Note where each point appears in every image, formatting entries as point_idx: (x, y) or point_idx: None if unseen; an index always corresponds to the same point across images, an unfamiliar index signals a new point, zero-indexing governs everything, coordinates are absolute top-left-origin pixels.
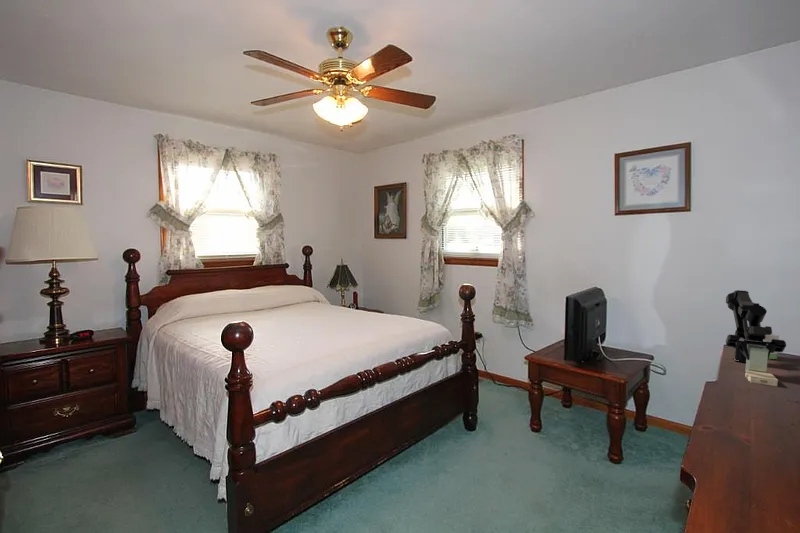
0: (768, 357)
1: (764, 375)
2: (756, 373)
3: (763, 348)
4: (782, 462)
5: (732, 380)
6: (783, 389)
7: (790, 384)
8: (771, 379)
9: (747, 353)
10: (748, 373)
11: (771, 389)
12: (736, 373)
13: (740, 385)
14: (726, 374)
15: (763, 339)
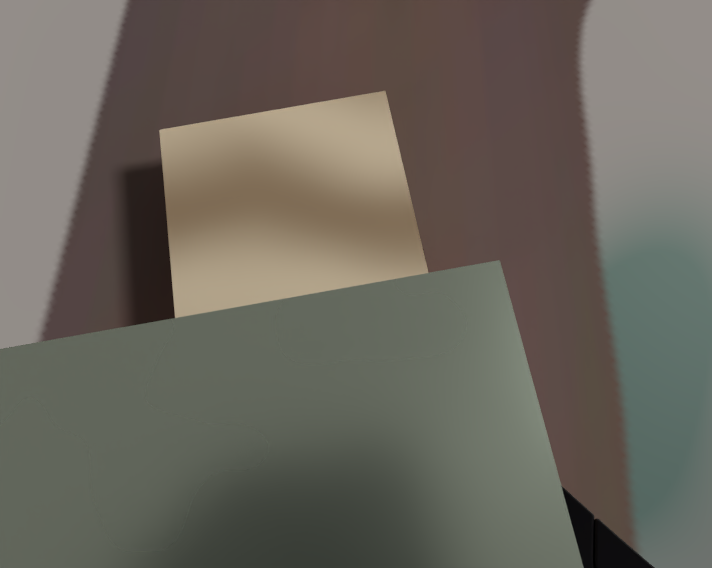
0: None
1: (260, 214)
2: (330, 243)
3: (10, 529)
4: None
5: (508, 97)
6: (159, 115)
7: (64, 325)
8: (214, 121)
9: None
10: (404, 182)
11: (245, 54)
12: None
13: (445, 3)
14: (576, 265)
15: None
